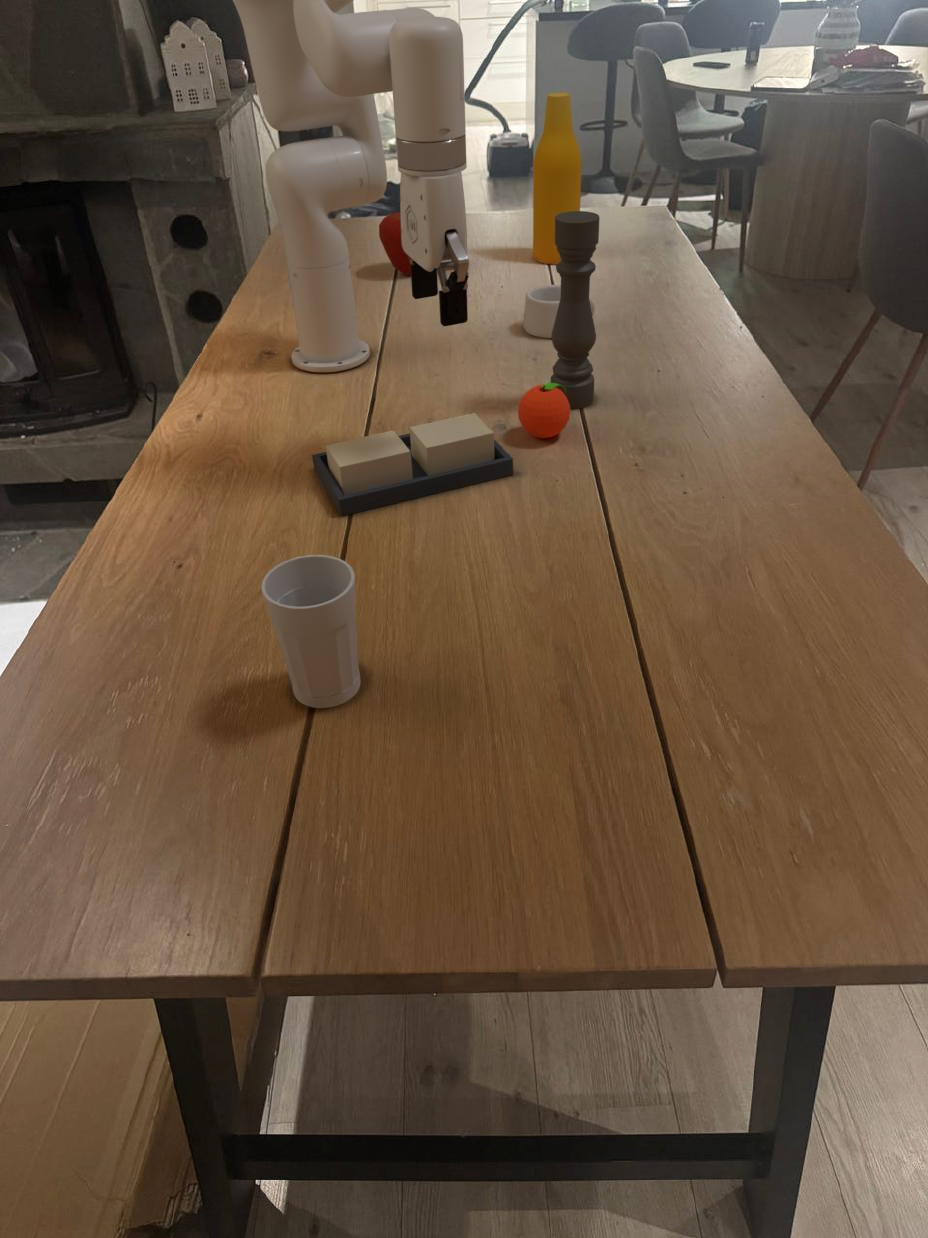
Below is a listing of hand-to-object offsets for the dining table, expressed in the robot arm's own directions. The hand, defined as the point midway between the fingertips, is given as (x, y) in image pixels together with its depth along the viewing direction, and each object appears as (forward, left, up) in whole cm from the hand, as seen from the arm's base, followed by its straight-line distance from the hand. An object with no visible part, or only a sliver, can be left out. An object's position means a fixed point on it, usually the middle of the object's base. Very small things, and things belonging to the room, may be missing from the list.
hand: (439, 309), depth 111 cm
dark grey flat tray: (+3, -6, -19) cm, 20 cm away
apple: (-74, +21, -19) cm, 79 cm away
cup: (+38, -27, -19) cm, 51 cm away
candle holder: (-7, +22, -19) cm, 30 cm away
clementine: (+1, +14, -19) cm, 24 cm away
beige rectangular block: (+3, -1, -18) cm, 18 cm away
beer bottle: (-68, +50, -19) cm, 86 cm away
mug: (-33, +33, -19) cm, 50 cm away
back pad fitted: (+3, -12, -18) cm, 22 cm away
